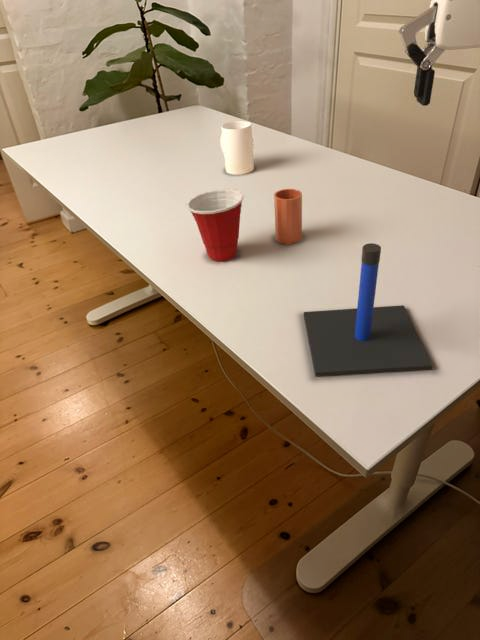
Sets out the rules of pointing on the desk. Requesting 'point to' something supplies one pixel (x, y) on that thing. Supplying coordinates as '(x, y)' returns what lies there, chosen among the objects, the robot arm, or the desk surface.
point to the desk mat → (364, 343)
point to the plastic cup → (218, 221)
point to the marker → (367, 290)
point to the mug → (237, 147)
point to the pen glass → (288, 215)
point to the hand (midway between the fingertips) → (461, 99)
